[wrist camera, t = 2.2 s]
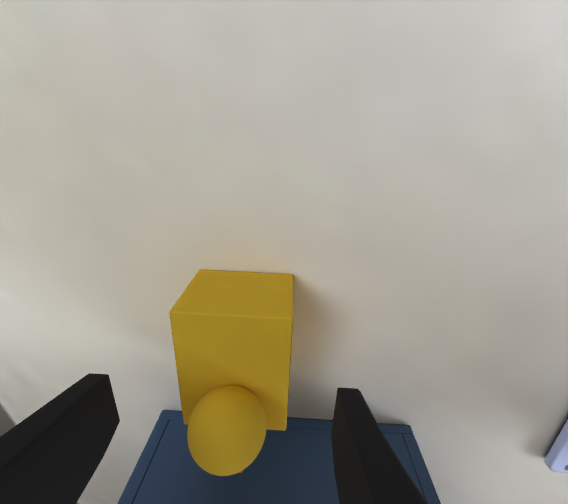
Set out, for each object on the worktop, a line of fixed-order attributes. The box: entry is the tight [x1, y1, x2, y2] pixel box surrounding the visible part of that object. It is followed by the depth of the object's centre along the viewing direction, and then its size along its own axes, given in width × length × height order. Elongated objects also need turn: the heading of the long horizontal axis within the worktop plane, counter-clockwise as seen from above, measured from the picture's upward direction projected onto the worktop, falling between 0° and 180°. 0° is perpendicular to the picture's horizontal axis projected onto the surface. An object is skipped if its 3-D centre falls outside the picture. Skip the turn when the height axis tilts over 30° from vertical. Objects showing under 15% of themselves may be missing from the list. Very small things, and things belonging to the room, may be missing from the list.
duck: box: [170, 270, 294, 476], centre depth 11 cm, size 4×6×6 cm
